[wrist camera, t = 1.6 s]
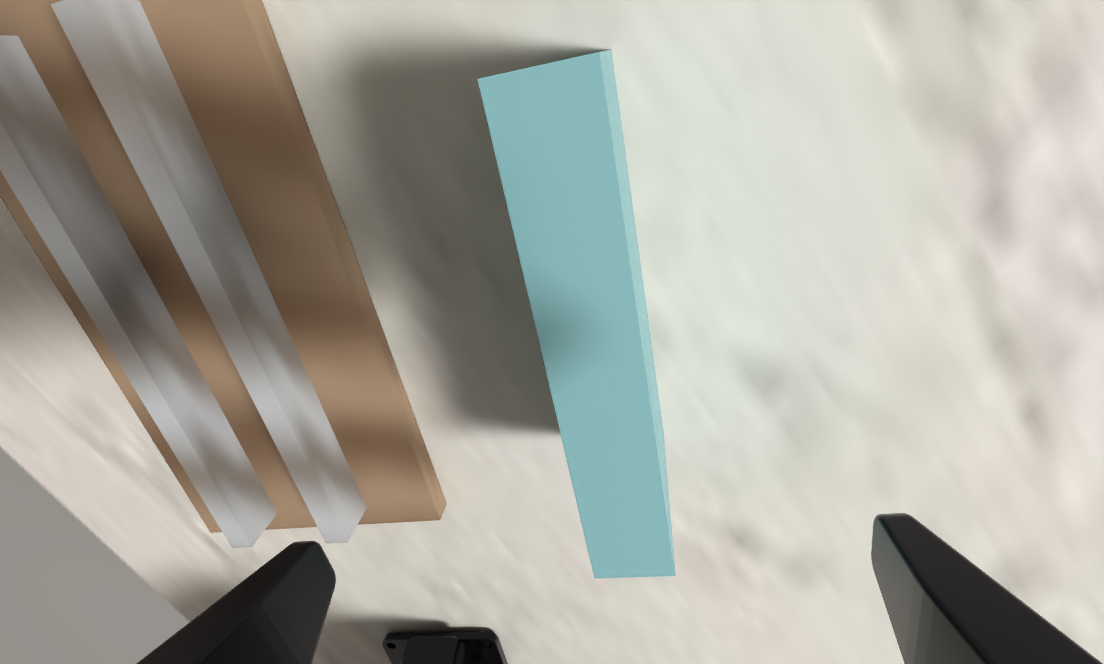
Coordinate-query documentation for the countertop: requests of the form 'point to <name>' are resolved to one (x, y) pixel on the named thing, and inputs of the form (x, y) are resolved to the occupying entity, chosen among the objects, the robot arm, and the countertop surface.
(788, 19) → the countertop surface
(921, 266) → the countertop surface
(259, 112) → the track
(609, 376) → the door panel
